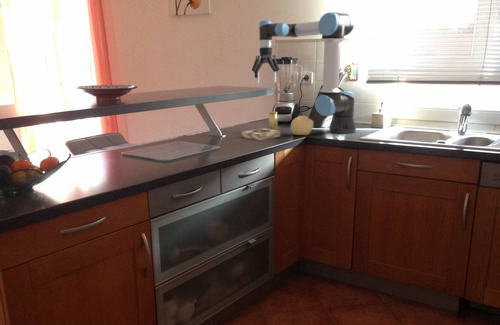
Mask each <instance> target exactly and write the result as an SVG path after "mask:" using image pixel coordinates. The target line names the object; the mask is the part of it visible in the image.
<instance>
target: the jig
mask: <svg viewBox="0 0 500 325" xmlns="http://www.w3.org/2000/svg"><path fill="white" fill-rule="evenodd" d="M277 137H279V138H280V137H281V130H278V129H277V130H271V129H269V128H256V129H249V130H244V131H243V130H242V131H241V138H246V139H252V140H259V141H261V140H266V139H267V140H268V139H272V138H277Z"/></svg>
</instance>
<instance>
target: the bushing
mask: <svg viewBox="0 0 500 325" xmlns="http://www.w3.org/2000/svg"><path fill="white" fill-rule="evenodd" d="M268 116H269V117H268V118H269V119H268V129H271V130H278V111H274V110H273V111H268Z"/></svg>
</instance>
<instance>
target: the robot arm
mask: <svg viewBox="0 0 500 325" xmlns="http://www.w3.org/2000/svg"><path fill="white" fill-rule="evenodd" d="M259 21H260V20H259ZM354 27H355V21H354V19H353V17H352V16H351V15H350V14H347V13H343V12H342V13H339V12H335V11H334V12H333V11H332V12H326V13H324V14H323V15H321V17H320V19H319V20H317V21H309V22H300V23H299V22H298V23H286V22H279V23H277V22H276V23H273V22H272V20H261V21H260V22H259V28H258V29H259V30H258V31H259V47H260V48H259V54H260V55H255V59H254V63H253V65H252V69H251V71H252V72H253V73H254V78H255V84H259V83H260V72H259V71H260V70H261V69H262V68H261V67H262V66H263V65H264V64H268V65H269V66H270V68H271V69H272V73H271V75H272V78H271V80H272V81H271V82H272V83H276V82H277V77H278V76H277V75H278V74H277V73H278V72H279V71H280V67H279V65H278V61H277V59H276V55H274V54H273V48H272V47H273V37H276V38H277V37H283V38H284V37H285V38H288V37H289V38H298V37H304V36H305V37H307V36H319V35H321V40H322V41H323V43H324V44H323V67H322V68H323V69H322V88H321V89H320V90H319V93H318V94H319V95H318V96H317V98H316V99H315V100H314V101H315V102H314V109H315V110H316V112H317V113H318V114H320V116H322V117H331V116H332V120H331V122H330V124H329V127H328V128H329V132H330V133H334V134H335V133H336V134H353V133H357V132H356V131H357V127H356V123H355V120H354V119H355V118H354V111H355V110H354V109H355V93H354V92H353V91H347V90H346V91H343V90H341V89H339V88H340V87H339V85H340V66H341V65H340V64H341V47H342V42H343V41H344V40H345V37H346V36H348V35H349V34H351V33H352V31H353V30H354ZM272 54H273V55H272Z"/></svg>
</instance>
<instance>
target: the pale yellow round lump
mask: <svg viewBox="0 0 500 325" xmlns="http://www.w3.org/2000/svg"><path fill="white" fill-rule="evenodd" d="M314 122H315V121H314V120H313V119H311V118H309V116H307V115H298V116H297V117H295V118H294V119H292V121H291V123H290V130H291V132H292V134H293V135H295V136H308V135H309V134H311V131H312V130H313V128H314Z"/></svg>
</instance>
